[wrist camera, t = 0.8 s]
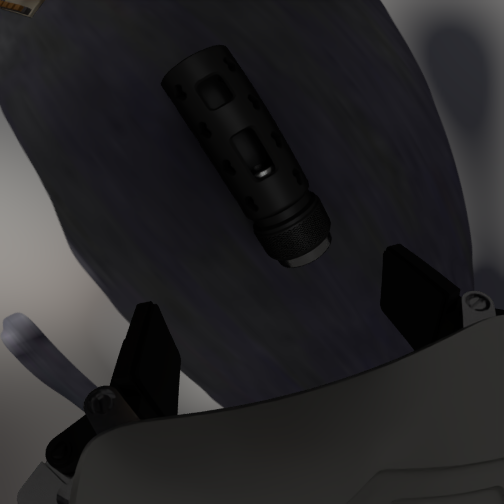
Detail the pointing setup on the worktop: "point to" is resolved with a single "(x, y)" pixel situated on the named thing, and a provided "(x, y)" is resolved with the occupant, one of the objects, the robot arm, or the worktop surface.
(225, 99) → the muzzle brake
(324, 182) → the worktop surface
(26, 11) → the breaker board
